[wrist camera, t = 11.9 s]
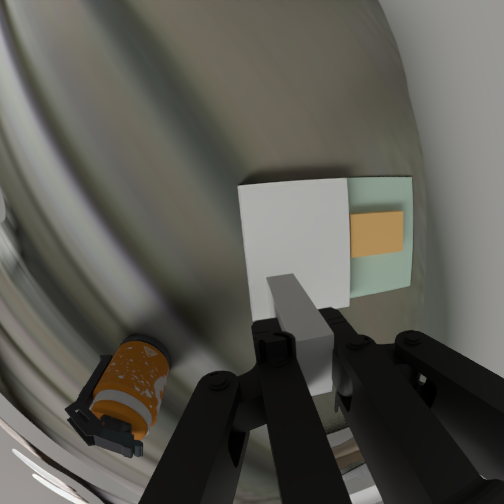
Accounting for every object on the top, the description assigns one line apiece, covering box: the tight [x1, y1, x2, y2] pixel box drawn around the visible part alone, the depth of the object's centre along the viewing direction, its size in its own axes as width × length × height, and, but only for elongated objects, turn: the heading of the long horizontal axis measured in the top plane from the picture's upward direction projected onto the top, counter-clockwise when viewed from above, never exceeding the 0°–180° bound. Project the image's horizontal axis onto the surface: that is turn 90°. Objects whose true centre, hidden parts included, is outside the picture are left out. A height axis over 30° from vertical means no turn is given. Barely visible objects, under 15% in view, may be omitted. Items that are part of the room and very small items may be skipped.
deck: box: [238, 178, 350, 321], centre depth 37 cm, size 18×14×3 cm
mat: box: [347, 177, 413, 298], centre depth 39 cm, size 18×12×1 cm, turn 6°
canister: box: [65, 335, 171, 458], centre depth 31 cm, size 9×11×20 cm
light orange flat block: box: [349, 210, 403, 258], centre depth 37 cm, size 9×6×2 cm, turn 95°
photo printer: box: [342, 463, 370, 481], centre depth 49 cm, size 10×4×12 cm, turn 125°
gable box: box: [326, 427, 382, 504], centre depth 37 cm, size 22×13×28 cm, turn 105°
